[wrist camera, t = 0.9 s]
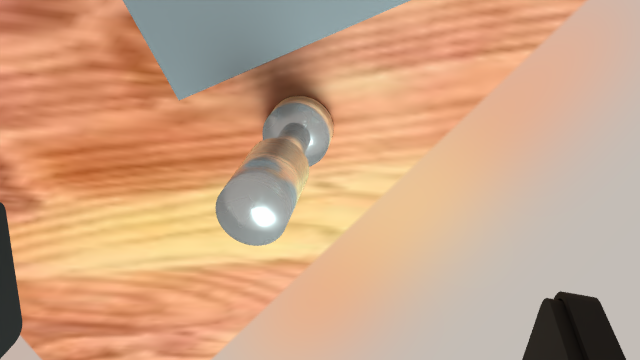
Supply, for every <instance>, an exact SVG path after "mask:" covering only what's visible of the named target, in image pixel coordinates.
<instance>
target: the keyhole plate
mask: <svg viewBox="0 0 640 360" xmlns="http://www.w3.org/2000/svg"><path fill="white" fill-rule="evenodd" d="M123 1H124V3H125V5H126V7H127V8H128V10H129V12H130V14H131V16H132V17H133V19H134V21H135V23H136V25H137V26H138V28H139V30H140V32H141V33H142V35H143V37H144V39H145V41H146V42H147V44H148V46H149V48H150V50H151V51H152V53H153V55H154V57H155V58H156V60H157V62H158V64H159V66H160V67H161V69H162V71H163V73H164V74H165V76H166V78H167V80H168V82H169V83H170V85H171V87H172V89H173V91H174V92H175V94H176V96H177V98H178V99H179V100H181V99H184V98H186V97H188V96H190V95H193V94H195V93H197V92H200V91H202V90H204V89H207V88H209V87H211V86H214V85H216V84H218V83H220V82H223V81H225V80H227V79H230V78H232V77H234V76H237V75H239V74H241V73H244V72H246V71H248V70H250V69H253V68H255V67H257V66H260V65H262V64H264V63H267V62H269V61H271V60H274V59H276V58H278V57H280V56H283V55H285V54H287V53H290V52H292V51H294V50H297V49H299V48H301V47H304V46H306V45H308V44H311V43H313V42H315V41H317V40H320V39H322V38H324V37H327V36H329V35H331V34H334V33H336V32H338V31H341V30H343V29H345V28H347V27H350V26H352V25H354V24H357V23H359V22H361V21H364V20H366V19H368V18H371V17H373V16H375V15H377V14H380V13H382V12H384V11H387V10H389V9H391V8H394V7H396V6H398V5H401V4H403V3H405V2H407V1H410V0H123Z"/></svg>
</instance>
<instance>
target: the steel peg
mask: <svg viewBox="0 0 640 360" xmlns="http://www.w3.org/2000/svg"><path fill="white" fill-rule="evenodd" d="M333 131H334V127H333V121H332V118H331V116H330V114H329V112H328V111H327V109H326V108H325V107H324V106H323V105H322V104H321V103H319V102H318V101H316V100H314V99H312V98H309V97H306V96H293V97H289V98H286V99H284V100H283V101H281V102H280V103H279V104H278V105H277V106H276V107H275V108H274V110H273V111H272V112H271V114H270V115H269V116H268V118H267V119H266V121H265V123H264V127H263V141H260V142H259V143H257V144H256V145H255V146H254V147H253V148H252V150H251V151H250V153H249V154H248V155H247V157H246V158H245V159H244V161H243V162H242V164H241V165H240V166H239V168H238V169H237V171H236V172H235V173H234V175H233V176H232V178H231V179H230V180H229V182H228V183H227V185H226V186H225V187H224V189H223V190H222V192H221V193H220V195H219V196H218V199H217V202H216V215H217V218H218V221H219V223H220V225H221V226H222V228H223V229H224V230H225V232H226V233H227V234H229V235H230V236H231V237H232V238H234V239H235V240H237V241H239V242H241V243H244V244H248V245H254V246H259V245H266V244H269V243H272V242H273V241H275V240H276V239H278V238H279V237H280V236H281V235H282V233H283V232H284V230H285V228H286V225H287V223H288V221H289V219H290V217H291V214H292V212H293V210H294V208H295V206H296V203H297V201H298V199H299V197H300V195H301V192H302V190H303V188H304V186H305V184H306V181H307V179H308V176H309V166H312V165H314V164H316V163H317V162H318V161H320V160H321V159H322V158H323V156H324V155H325V153H326V151H327V149H328V147H329V144H330V142H331V140H332V137H333Z"/></svg>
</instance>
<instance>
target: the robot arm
mask: <svg viewBox="0 0 640 360" xmlns="http://www.w3.org/2000/svg"><path fill="white" fill-rule="evenodd" d="M21 329H22V316H21V309H20V302H19V296H18V289H17V282H16V276H15V269H14V263H13V256H12V249H11V243H10V236H9V229H8V223H7V216H6V210H5V207H4V205H3V204H2V203H0V358H1V357H2V356H3V355H4V354H5V353H6V352H7V351H8V350H9V349H10V348H11V346H12V345H13V344H14V343H15V342H16V340H17V339H18V337H19V335H20V332H21ZM522 360H626V358H625V356H624V354H623V352H622V350H621V348H620V345H619V343H618V341H617V338H616V336H615V334H614V332H613V330H612V327H611V325H610V323H609V321H608V319H607V317H606V314H605V312H604V310H603V307H602V305H601V303H600V302H599V300H598V299H597V298H594V297H589V296H584V295H577V294H572V293H566V292H558V293H557V295H556V296H555V298H554V299H549V298H546V299H544V300H543V302H542V304H541V307H540V310H539V312H538V315H537V318H536V321H535V324H534V327H533V330H532V333H531V336H530V339H529V342H528V345H527V347H526V351H525V353H524V356H523V359H522Z"/></svg>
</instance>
